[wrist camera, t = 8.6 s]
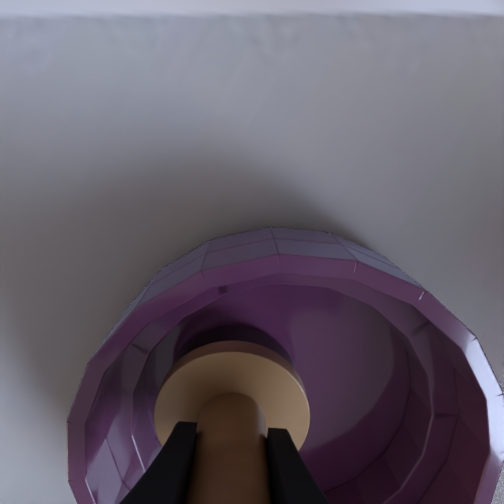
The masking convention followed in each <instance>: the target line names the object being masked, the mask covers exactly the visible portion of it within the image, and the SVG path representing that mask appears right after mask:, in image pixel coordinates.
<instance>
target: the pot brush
mask: <svg viewBox="0 0 504 504" xmlns="http://www.w3.org/2000/svg"><path fill="white" fill-rule="evenodd" d="M153 415H154V426H155V431H156V434H157V437H158V440H159V442H160V444H161V445H162V447H163V446H164V444H165V442H166V441H167V439H168V437H169V436H170V434H171V432H172V430H173V428H174V426H175V424H176V423H177V422H179V421H184V422H197V434H196V440H195V447H194V453H193V459H192V464H191V468H190V473H189V480H188V486H187V492H186V498H185V504H272V500H271V487H270V474H269V463H268V449H267V433H268V427H269V428H283V429H287V430H288V431H289V433H290V436H291V438H292V440H293V442H294V444H295V446H296V448H297V450H298V451H299V450H300V448H301V446H302V445H303V443H304V441H305V438H306V436H307V433H308V429H309V424H310V408H309V404H308V400H307V395H306V391H305V387H304V385H303V382H302V380H301V378H300V376H299V375H298V373H297V371H296V370H295V366H294V364H293V361H292V359H291V358H290V356H289V354H288V353H287V351H286V350H285V349H284V348H283V347H282V346H281V345H280V344H279V343H278V342H277V341H276V340H274V339H273V338H272V337H270V336H268V335H266V334H265V333H262V332H260V331H257V330H254V329H251V328H246V327H238V326H229V327H221V328H216V329H213V330H210V331H207V332H205V333H203V334H201V335H199V336H197V337H195V338H194V339H192V340H191V341H190V342H189V343H188V344H186V345H185V346H184V348H183V349H182V350H181V351H180V353H179V354H178V356H177V357H176V359H175V361H174V363H173V366H172V367H171V368H170V370H169V371H168V373H167V374H166V376H165V377H164V379H163V382H162V384H161V386H160V389H159V392H158V395H157V399H156V402H155V406H154V414H153Z"/></svg>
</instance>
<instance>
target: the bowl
mask: <svg viewBox="0 0 504 504" xmlns="http://www.w3.org/2000/svg"><path fill="white" fill-rule="evenodd" d="M229 326H238V327H246V328H251V329H254V330H257V331H260V332H262V333H265V334H266V335H268V336H270V337H272V338H273V339H274V340H276V341H277V342H278V343H279V344H280V345H281V346H282V347H283V348H284V349H285V350H286V351H287V353H288V354H289V356H290V358H291V359H292V361H293V364H294V366H295V370H296V371H297V373H298V375H299V376H300V378H301V380H302V382H303V385H304V387H305V391H306V395H307V400H308V404H309V408H310V424H309V429H308V433H307V436H306V438H305V441H304V443H303V445H302V446H301V448H300V450H299V451H298V452H299V454H300V456H301V457H302V459H303V461H304V463H305V465H306V466H307V468H308V470H309V471H310V473H311V475H312V476H313V478H314V480H315V481H316V483H317V485H318V486H319V488H320V489H321V491H322V492H323V494H324V495H325V497H326V498H327V500H328V501H329V503H330V504H491V502H492V498H493V495H494V492H495V489H496V486H497V482H498V479H499V476H500V473H501V470H502V466H503V463H504V394H503V391H502V389H501V387H500V384H499V382H498V380H497V378H496V376H495V374H494V372H493V370H492V368H491V366H490V364H489V361H488V359H487V357H486V355H485V353H484V351H483V349H482V347H481V345H480V343H479V341H478V339H477V337H476V336H475V334H473V333H472V332H471V331H470V330H469V329H468V328H467V327H466V326H465V325H464V324H463V323H462V322H461V321H459V320H458V319H457V318H456V317H455V316H454V315H453V314H452V313H451V312H450V311H449V310H448V309H447V308H446V307H444V306H443V305H442V304H441V303H440V302H439V301H438V300H437V299H436V298H435V297H434V296H433V295H432V294H430V293H429V292H428V291H427V290H426V289H425V288H423V287H422V286H421V285H420V284H418V283H417V282H416V281H414V280H413V279H412V278H411V277H409V276H408V275H407V274H405V273H404V272H403V271H402V270H400V269H399V268H398V267H396V266H395V265H394V264H393V263H391V262H390V261H389V260H388V259H386V258H385V257H384V256H382V255H380V254H378V253H376V252H374V251H371V250H369V249H367V248H364V247H362V246H360V245H358V244H355V243H353V242H351V241H348V240H346V239H344V238H341V237H339V236H337V235H335V234H332V233H330V234H329V233H328V232H320V231H309V230H298V229H287V228H277V227H271V228H270V227H266V228H262V229H257V230H253V231H248V232H244V233H239V234H234V235H230V236H225V237H221V238H216V239H212V240H210V241H208V242H206V243H205V244H203V245H201V246H200V247H198V248H196V249H194V250H193V251H191V252H189V253H188V254H186V255H184V256H182V257H181V258H179V259H177V260H176V261H174V262H172V263H170V264H169V265H167V266H165V267H164V268H162V269H161V271H159V272H158V273H157V274H156V275H155V277H154V278H153V279H152V280H151V281H150V282H149V283H148V285H147V286H146V287H145V288H144V289H143V290H142V292H141V293H140V294H139V295H138V296H137V297H136V298H135V300H134V301H133V302H132V303H131V304H130V305H129V307H128V308H127V309H126V310H125V312H124V313H123V314H122V316H121V317H120V319H119V320H118V321H117V323H116V324H115V325H114V327H113V328H112V330H111V331H110V332H109V334H108V335H107V336H106V338H105V339H104V341H103V342H102V343H101V345H100V346H99V347H98V349H97V350H96V352H95V353H94V354H93V356H92V357H91V359H90V361H89V362H88V364H87V367H86V369H85V372H84V375H83V377H82V380H81V383H80V386H79V388H78V391H77V394H76V396H75V399H74V402H73V404H72V407H71V410H70V412H69V415H68V418H67V422H66V426H67V466H68V482H69V485H70V487H71V489H72V492H73V494H74V497H75V499H76V501H77V504H119V503H120V502H121V501H122V500H123V498H124V497H125V496H126V495H127V494H128V493H129V492H130V490H131V489H132V488H133V487H134V485H135V484H136V483H137V482H138V480H139V479H140V478H141V477H142V475H143V474H144V473H145V472H146V470H147V469H148V468H149V466H150V465H151V463H152V462H153V460H154V459H155V458H156V456H157V455H158V453H159V452H160V450H161V449H162V445H161V444H160V442H159V440H158V437H157V434H156V431H155V426H154V415H153V414H154V406H155V402H156V399H157V395H158V392H159V389H160V386H161V384H162V382H163V379H164V377H165V376H166V374H167V373H168V371H169V370H170V368H171V367H172V366H173V363H174V361H175V359H176V357H177V356H178V354H179V353H180V351H181V350H182V349H183V348H184V346H185V345H186V344H188V343H189V342H190V341H191V340H192V339H194V338H195V337H197V336H199V335H201V334H203V333H205V332H207V331H210V330H213V329H216V328H221V327H229Z"/></svg>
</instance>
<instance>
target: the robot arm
mask: <svg viewBox="0 0 504 504" xmlns="http://www.w3.org/2000/svg"><path fill="white" fill-rule="evenodd" d="M196 434H197V422H184V421H179V422H177V423H176V424H175V426H174V428H173V430H172V432H171V434H170V436H169V437H168V439H167V441H166V442H165V444H164V446H163V447H162V449H161V450H160V452H159V453H158V455H157V456H156V458H155V459H154V460H153V462H152V463H151V465H150V466H149V468H148V469H147V470H146V472H145V473H144V474H143V475H142V477H141V478H140V479H139V480H138V482H137V483H136V484H135V485H134V487H133V488H132V489H131V490H130V492H129V493H128V494H127V495H126V496H125V497H124V498H123V500H122V501H121V502H120V503H119V504H185V498H186V492H187V486H188V480H189V473H190V468H191V464H192V459H193V453H194V447H195V440H196ZM267 449H268V463H269V474H270V487H271V500H272V504H330V503H329V501H328V500H327V498H326V497H325V495H324V494H323V492H322V491H321V489H320V488H319V486H318V485H317V483H316V481H315V480H314V478H313V476H312V475H311V473H310V471H309V470H308V468H307V466H306V465H305V463H304V461H303V459H302V457H301V456H300V454H299V452H298V450H297V448H296V446H295V444H294V442H293V440H292V438H291V436H290V433H289V431H288V430H287V429H283V428H269V427H268V433H267Z"/></svg>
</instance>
